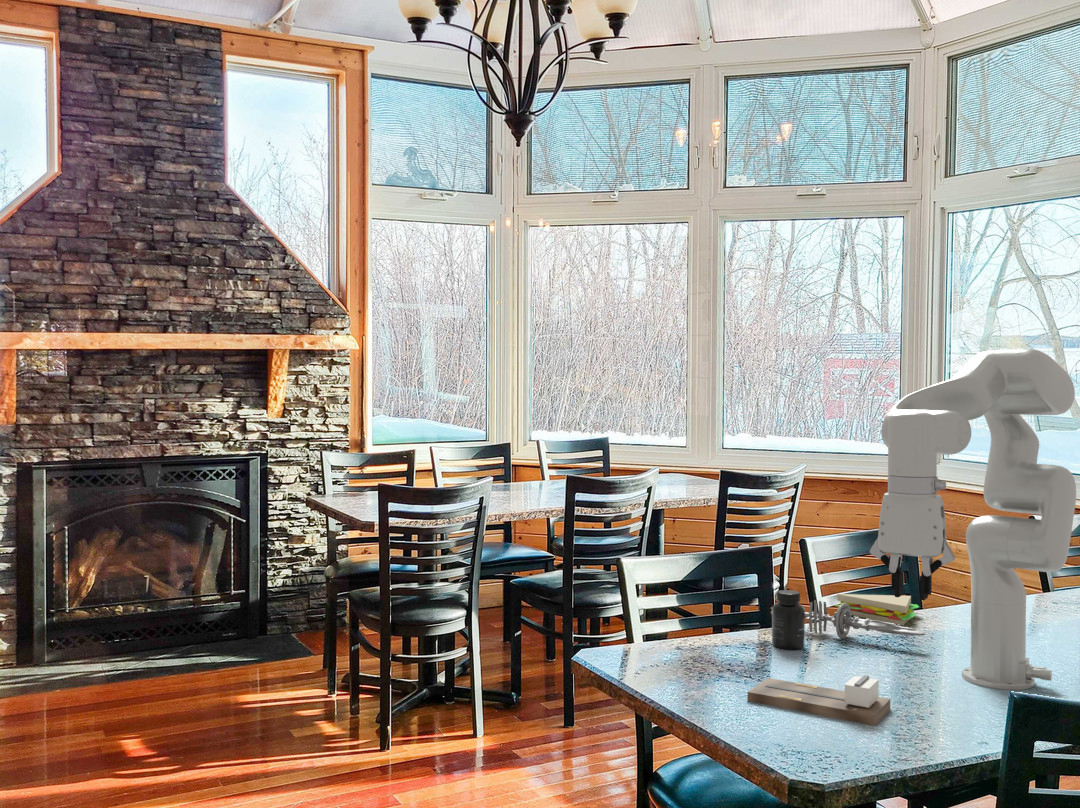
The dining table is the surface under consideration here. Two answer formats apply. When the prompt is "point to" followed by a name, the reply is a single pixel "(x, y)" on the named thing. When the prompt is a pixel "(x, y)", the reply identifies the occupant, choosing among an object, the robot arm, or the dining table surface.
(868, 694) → the fader knob
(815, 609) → the spaceship
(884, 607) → the sandwich
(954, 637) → the dining table surface
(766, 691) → the fader track
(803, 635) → the supplement bottle
